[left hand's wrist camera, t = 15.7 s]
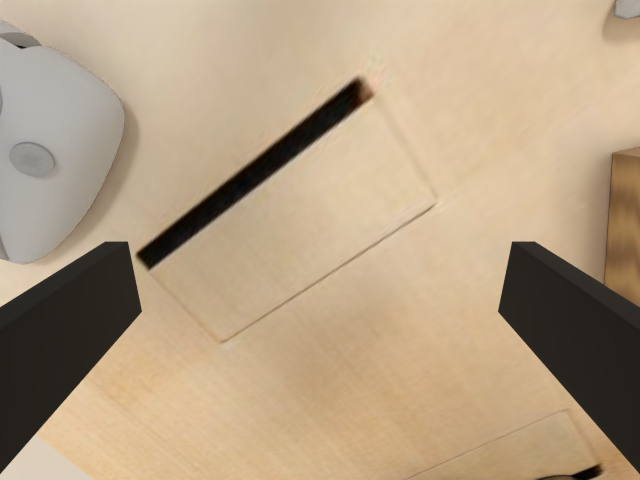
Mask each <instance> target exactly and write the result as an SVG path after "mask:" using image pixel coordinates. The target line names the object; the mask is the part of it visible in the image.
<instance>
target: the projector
mask: <svg viewBox="0 0 640 480" xmlns="http://www.w3.org/2000/svg"><path fill="white" fill-rule="evenodd" d="M124 124H125V113H124V109H123V105H122V103H121V101H120V100H119V98H118V96H117V95H116V94H115V92H114V91H113V90H112V89H111V88H110V87H109V86H108V85H107V84H106V83H105V82H104V81H102V80H101V79H100V78H98V77H97V76H96V75H95V74H93V73H92V72H90V71H89V70H87V69H86V68H84V67H83V66H81V65H80V64H78V63H77V62H75V61H73V60H72V59H70V58H68V57H67V56H65V55H63V54H62V53H60V52H58V51H56V50H55V49H52V48H49V47H44V46H41V44H40V43H39V42H38V41H37V40H36V39H35V38H34V37H32V36H30V35H29V34H27V33H25V32H23V31H21V30H20V29H18V28H16V27H14V26H12V25H10V24H8V23H7V22H4V21H2V20H0V259H3V260H7V261H10V262H13V263H17V264H29V263H32V262H34V261H37V260H39V259H41V258H43V257H44V256H46V255H47V254H49V253H50V252H51V251H53V250H54V249H55V248H56V247H57V246H58V245H59V244H60V243H61V242H62V241H64V239H65V238H66V237H67V236H68V235H69V234H70V233H71V232H72V231H73V230H74V228H75V227H76V226H77V225H78V223H79V222H80V221H81V219H82V218H83V217H84V215H85V214H86V213H87V211H88V209H89V208H90V206H91V205H92V203H93V201H94V200H95V198H96V196H97V195H98V193H99V191H100V189H101V187H102V185H103V183H104V181H105V179H106V177H107V175H108V173H109V170H110V168H111V166H112V163H113V161H114V158H115V156H116V153H117V151H118V148H119V145H120V142H121V138H122V134H123V130H124Z"/></svg>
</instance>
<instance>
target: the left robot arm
mask: <svg viewBox="0 0 640 480" xmlns="http://www.w3.org/2000/svg"><path fill="white" fill-rule="evenodd" d="M141 312H142V309H141V305H140V300H139V295H138V290H137V285H136V280H135V275H134V270H133V265H132V260H131V255H130V250H129V245H128V242H104V243H102V244H101V245H99V246H98V247H96V248H94V249H93V250H91V251H90V252H88V253H86V254H85V255H83V256H82V257H80V258H78V259H77V260H75V261H74V262H72V263H70V264H69V265H67V266H66V267H64V268H62V269H61V270H59V271H58V272H56V273H54V274H53V275H51V276H50V277H48V278H46V279H45V280H43V281H42V282H40V283H38V284H37V285H35V286H34V287H32V288H30V289H29V290H27V291H26V292H24V293H22V294H21V295H19V296H17V297H16V298H14V299H13V300H11V301H9V302H8V303H6V304H5V305H3V306H1V307H0V474H1V473H2V471H3V470H4V469H5V468H6V467H7V466H8V464H9V463H10V462H11V461H12V460H13V459H14V458H15V456H16V455H17V454H18V453H19V452H20V451H21V450H22V448H23V447H24V446H25V445H26V444H27V443H28V442H29V440H30V439H31V438H32V437H33V436H34V435H35V434H36V432H37V431H38V430H39V429H40V428H41V427H42V426H43V424H44V423H45V422H46V421H47V420H48V419H49V418H50V416H51V415H52V414H53V413H54V412H55V411H56V410H57V408H58V407H59V406H60V405H61V404H62V403H63V401H64V400H65V399H66V398H67V397H68V396H69V395H70V393H71V392H72V391H73V390H74V389H75V388H76V387H77V385H78V384H79V383H80V382H81V381H82V380H83V379H84V377H85V376H86V375H87V374H88V373H89V372H90V371H91V369H92V368H93V367H94V366H95V365H96V364H97V363H98V361H99V360H100V359H101V358H102V357H103V356H104V354H105V353H106V352H107V351H108V350H109V349H110V348H111V346H112V345H113V344H114V343H115V342H116V341H117V340H118V338H119V337H120V336H121V335H122V334H123V333H124V332H125V330H126V329H127V328H128V327H129V326H130V325H131V324H132V322H133V321H134V320H135V319H136V318H137V317H138V316H139V314H140V313H141ZM498 312H499V313H500V314H501V316H502V317H503V318H504V319H505V320H506V321H507V322H508V324H509V325H510V326H511V327H512V328H513V329H514V330H515V332H516V333H517V334H518V335H519V336H520V337H521V338H522V340H523V341H524V342H525V343H526V344H527V345H528V346H529V348H530V349H531V350H532V351H533V352H534V353H535V355H536V356H537V357H538V358H539V359H540V360H541V361H542V363H543V364H544V365H545V366H546V367H547V368H548V369H549V371H550V372H551V373H552V374H553V375H554V376H555V377H556V379H557V380H558V381H559V382H560V383H561V384H562V385H563V387H564V388H565V389H566V390H567V391H568V392H569V393H570V395H571V396H572V397H573V398H574V399H575V400H576V401H577V403H578V404H579V405H580V406H581V407H582V408H583V410H584V411H585V412H586V413H587V414H588V415H589V416H590V418H591V419H592V420H593V421H594V422H595V423H596V424H597V426H598V427H599V428H600V429H601V430H602V431H603V432H604V434H605V435H606V436H607V437H608V438H609V439H610V440H611V442H612V443H613V444H614V445H615V446H616V447H617V448H618V450H619V451H620V452H621V453H622V454H623V455H624V456H625V458H626V459H627V460H628V461H629V462H630V463H631V465H632V466H633V467H634V468H635V469H636V470H637V471H638V473H639V474H640V307H639V306H637V305H635V304H634V303H632V302H631V301H629V300H627V299H626V298H624V297H623V296H621V295H619V294H618V293H616V292H614V291H613V290H611V289H610V288H608V287H606V286H605V285H603V284H602V283H600V282H598V281H597V280H595V279H594V278H592V277H590V276H589V275H587V274H586V273H584V272H582V271H581V270H579V269H578V268H576V267H574V266H573V265H571V264H570V263H568V262H566V261H565V260H563V259H562V258H560V257H558V256H557V255H555V254H554V253H552V252H550V251H549V250H547V249H546V248H544V247H542V246H541V245H539V244H538V243H536V242H512V245H511V250H510V255H509V260H508V265H507V270H506V275H505V280H504V285H503V290H502V295H501V300H500V305H499V309H498Z"/></svg>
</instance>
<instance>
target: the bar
mask: <svg viewBox="0 0 640 480" xmlns="http://www.w3.org/2000/svg"><path fill="white" fill-rule="evenodd" d="M604 285H605V286H606V287H608V288H610V289H611V290H613V291H614V292H616V293H618V294H619V295H621V296H623V297H624V298H626V299H627V300H629V301H631V302H632V303H634V304H635V305H637V306H639V307H640V147H638V148H634V149H629V150H624V151H620V152H615V153H613V162H612V177H611V193H610V208H609V223H608V238H607V253H606V268H605V283H604Z"/></svg>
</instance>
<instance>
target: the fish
mask: <svg viewBox="0 0 640 480" xmlns="http://www.w3.org/2000/svg"><path fill="white" fill-rule="evenodd" d="M614 16H616V17H619V18H622V19H630V18H635V17H638V16H640V0H617V1H616V4H615V9H614Z"/></svg>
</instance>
